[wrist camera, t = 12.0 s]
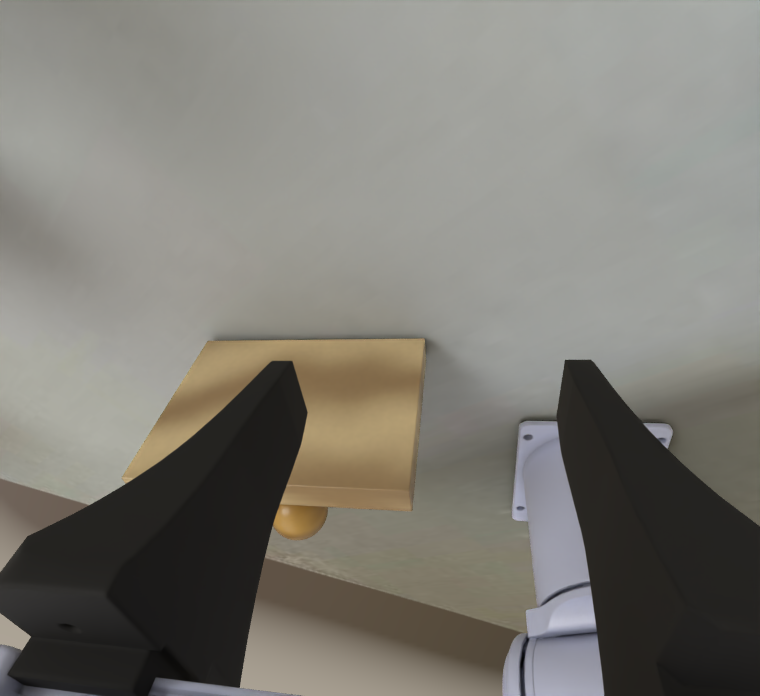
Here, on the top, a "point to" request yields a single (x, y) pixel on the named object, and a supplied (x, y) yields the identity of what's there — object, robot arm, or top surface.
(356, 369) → the wooden knob panel
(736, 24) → the top surface
